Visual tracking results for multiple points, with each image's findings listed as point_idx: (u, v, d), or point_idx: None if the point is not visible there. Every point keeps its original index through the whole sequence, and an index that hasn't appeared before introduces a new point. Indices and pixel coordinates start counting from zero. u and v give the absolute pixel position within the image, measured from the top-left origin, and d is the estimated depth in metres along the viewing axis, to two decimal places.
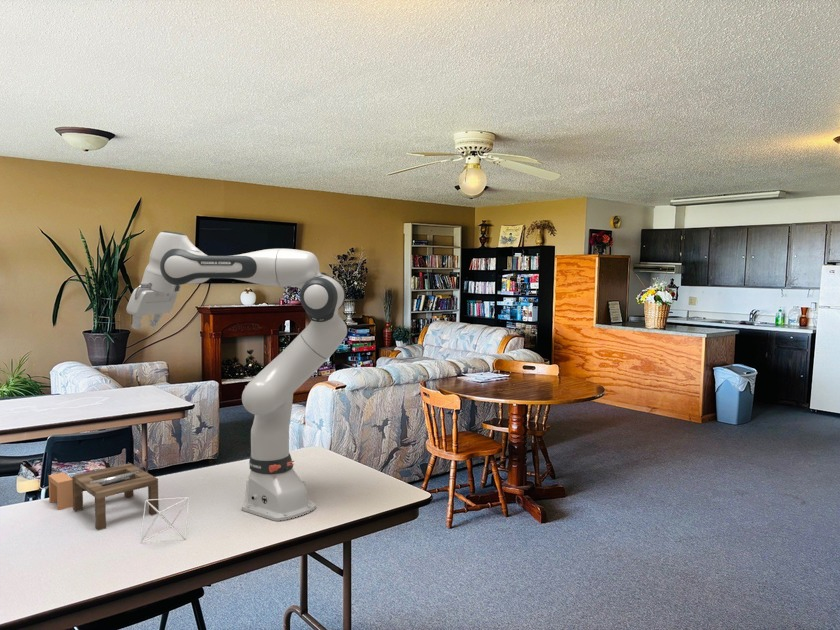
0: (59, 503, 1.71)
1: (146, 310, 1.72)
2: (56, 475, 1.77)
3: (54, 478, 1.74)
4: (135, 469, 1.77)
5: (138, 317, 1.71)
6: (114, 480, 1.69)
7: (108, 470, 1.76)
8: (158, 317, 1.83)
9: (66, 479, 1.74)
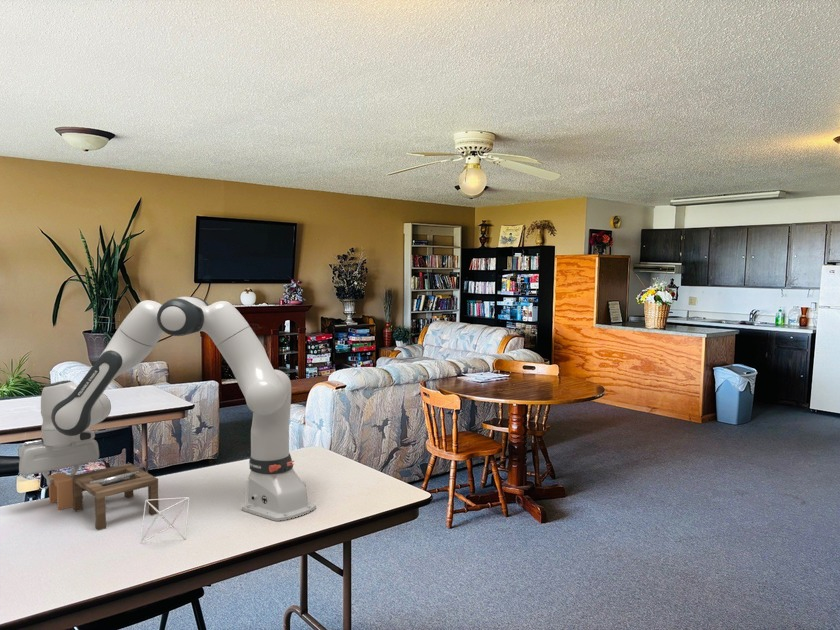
0: (59, 503, 1.71)
1: (40, 466, 1.70)
2: (56, 475, 1.77)
3: (54, 478, 1.74)
4: (135, 469, 1.77)
5: (43, 474, 1.72)
6: (114, 480, 1.69)
7: (108, 470, 1.76)
8: (74, 470, 1.77)
9: (66, 479, 1.74)
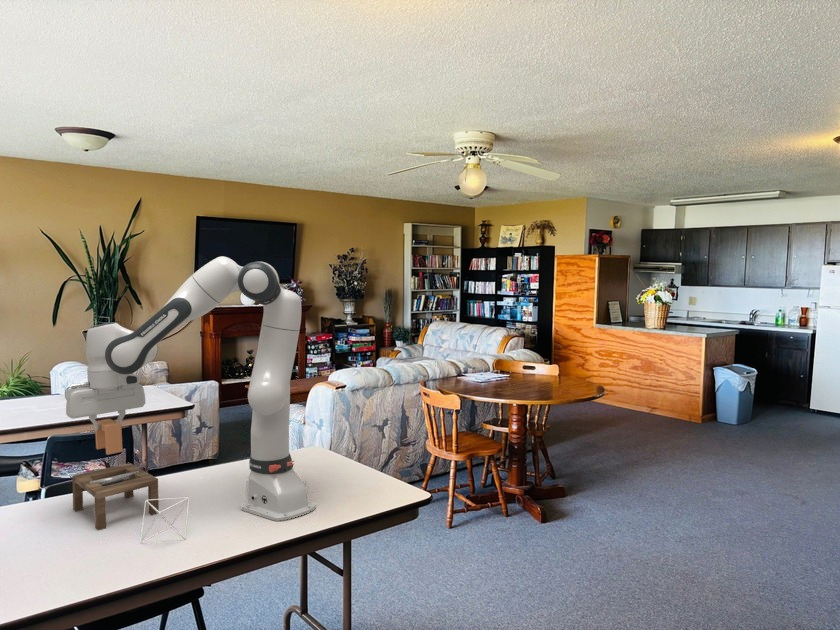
0: (108, 447, 1.66)
1: (87, 410, 1.64)
2: (103, 421, 1.72)
3: (101, 423, 1.69)
4: (135, 469, 1.77)
5: (91, 418, 1.66)
6: (114, 480, 1.69)
7: (108, 470, 1.76)
8: (121, 415, 1.72)
9: (114, 423, 1.68)
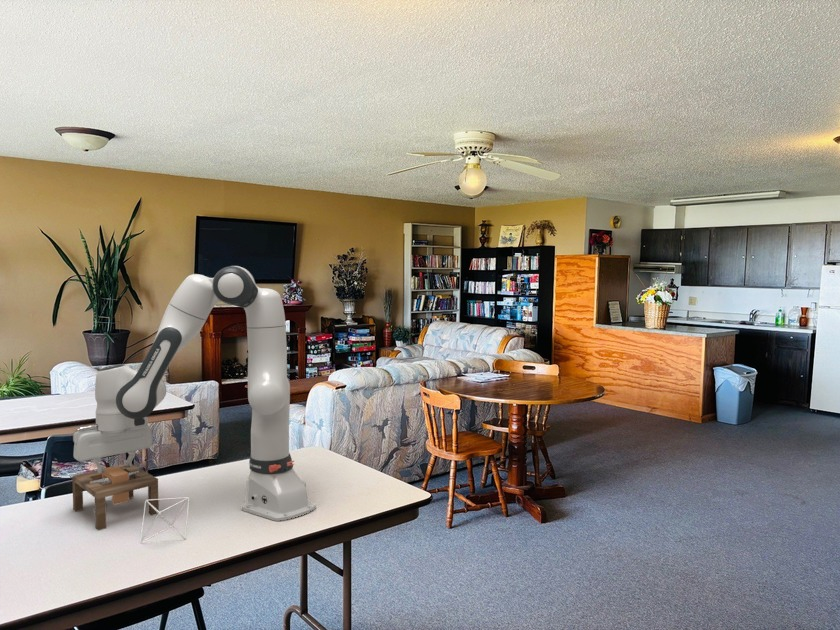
0: (114, 497, 1.66)
1: (95, 453, 1.64)
2: (110, 468, 1.72)
3: (109, 472, 1.69)
4: (135, 469, 1.77)
5: (94, 461, 1.65)
6: None
7: None
8: (131, 456, 1.73)
9: (121, 473, 1.68)
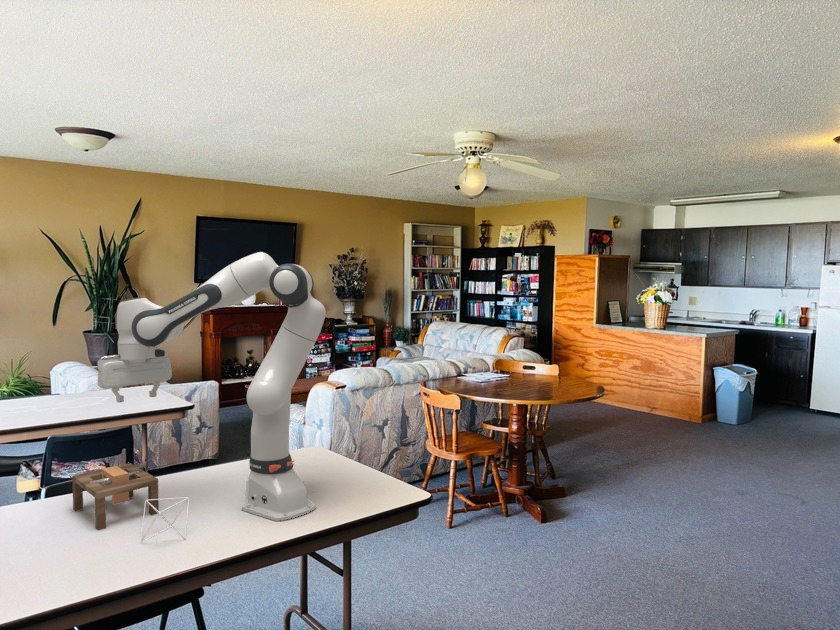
0: (114, 497, 1.66)
1: (118, 381, 1.70)
2: (110, 468, 1.72)
3: (109, 472, 1.69)
4: (135, 469, 1.77)
5: (114, 390, 1.71)
6: None
7: None
8: (155, 387, 1.80)
9: (121, 473, 1.68)
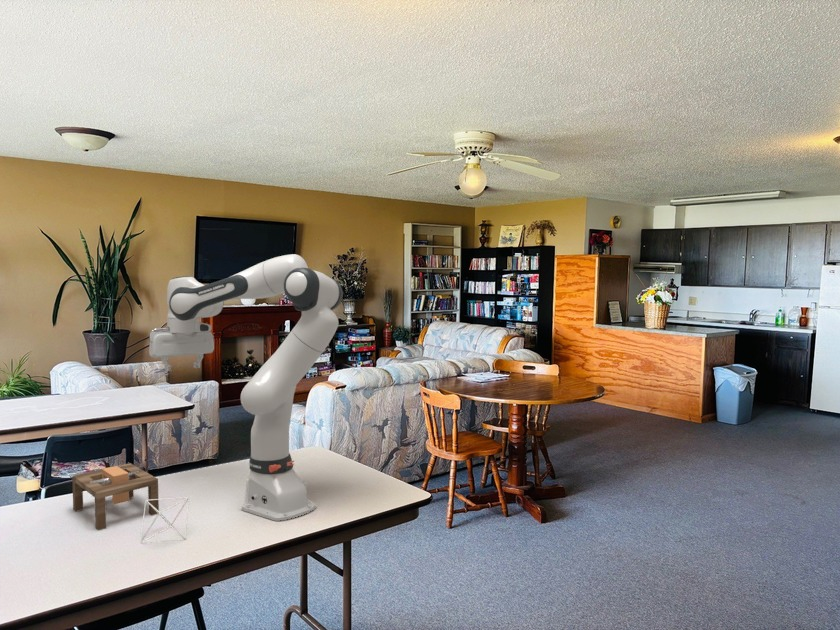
0: (114, 497, 1.66)
1: (167, 351, 1.88)
2: (110, 468, 1.72)
3: (109, 472, 1.69)
4: (135, 469, 1.77)
5: (163, 359, 1.88)
6: None
7: None
8: (199, 358, 1.97)
9: (121, 473, 1.68)
